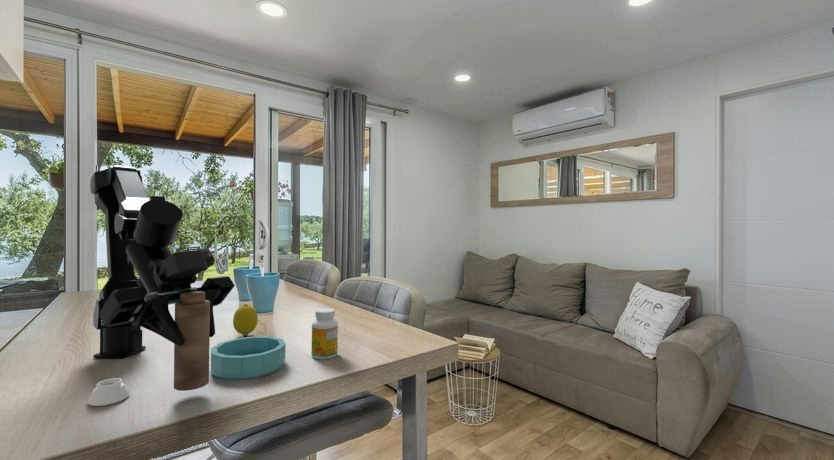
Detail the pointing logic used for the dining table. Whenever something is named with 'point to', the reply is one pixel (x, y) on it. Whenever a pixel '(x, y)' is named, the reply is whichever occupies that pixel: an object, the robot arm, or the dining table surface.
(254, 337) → the bowl
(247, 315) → the lemon
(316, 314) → the supplement bottle
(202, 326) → the pepper mill
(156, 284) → the robot arm
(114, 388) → the lidless jar
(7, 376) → the dining table surface
